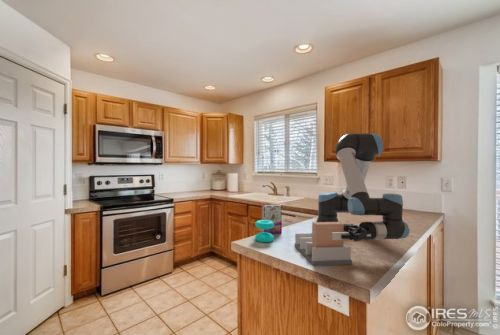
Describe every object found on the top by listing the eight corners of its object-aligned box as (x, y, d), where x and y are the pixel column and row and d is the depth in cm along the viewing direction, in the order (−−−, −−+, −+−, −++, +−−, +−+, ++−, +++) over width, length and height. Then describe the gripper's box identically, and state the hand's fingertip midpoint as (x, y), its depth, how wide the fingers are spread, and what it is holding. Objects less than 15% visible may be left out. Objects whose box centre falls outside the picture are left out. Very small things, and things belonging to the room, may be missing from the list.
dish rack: (294, 246, 117) (294, 232, 117) (325, 245, 119) (325, 232, 119) (313, 265, 93) (314, 249, 93) (351, 264, 95) (352, 248, 95)
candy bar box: (278, 231, 145) (278, 204, 145) (281, 233, 140) (282, 205, 140) (261, 232, 142) (261, 204, 142) (263, 234, 137) (264, 206, 137)
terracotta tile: (311, 255, 100) (312, 222, 100) (338, 254, 102) (338, 221, 102) (315, 258, 96) (316, 224, 96) (343, 257, 98) (343, 223, 98)
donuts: (266, 224, 119) (251, 221, 125) (266, 244, 119) (251, 240, 125) (277, 221, 127) (262, 218, 133) (277, 240, 127) (262, 236, 133)
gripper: (392, 248, 89) (339, 250, 87) (355, 231, 114) (313, 232, 111) (393, 229, 89) (340, 230, 87) (355, 215, 114) (313, 216, 111)
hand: (324, 231), depth 99 cm, fingers open, 13 cm apart
